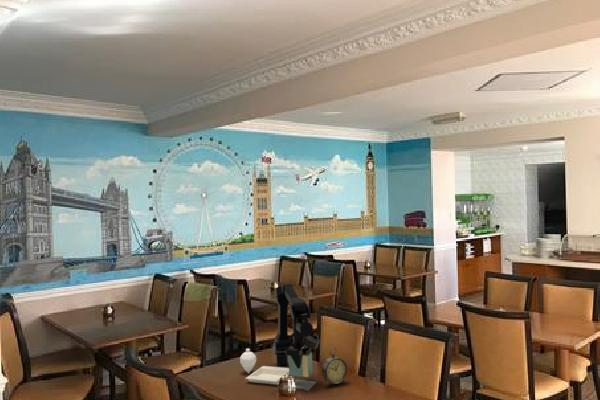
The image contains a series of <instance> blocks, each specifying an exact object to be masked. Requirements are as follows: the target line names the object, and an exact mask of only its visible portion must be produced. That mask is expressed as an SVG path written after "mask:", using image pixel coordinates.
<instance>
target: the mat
mask: <svg viewBox="0 0 600 400" xmlns="http://www.w3.org/2000/svg"><path fill="white" fill-rule="evenodd" d="M294 380H295V383H296V388H295V389H299V390H301V389H302V390H303V391H307V392H308V391H309V390H311V389H312V387H314V385H316V384H317V381H316V380H315V381H313V380H305V379H294Z"/></svg>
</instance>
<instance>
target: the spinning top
mask: <svg viewBox="0 0 600 400" xmlns="http://www.w3.org/2000/svg"><path fill="white" fill-rule="evenodd" d="M239 362H240V365H241V366H242V367H243V369H244V370H245V371H246V372H247V374H250V373H251V371H252V370H253V368H254V367H255V365H256V362H257V356H256V354H255V353H254V352H252V351H251V349H250V348H245V352H243V353H242V354H241V356H240V357H239Z"/></svg>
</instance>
